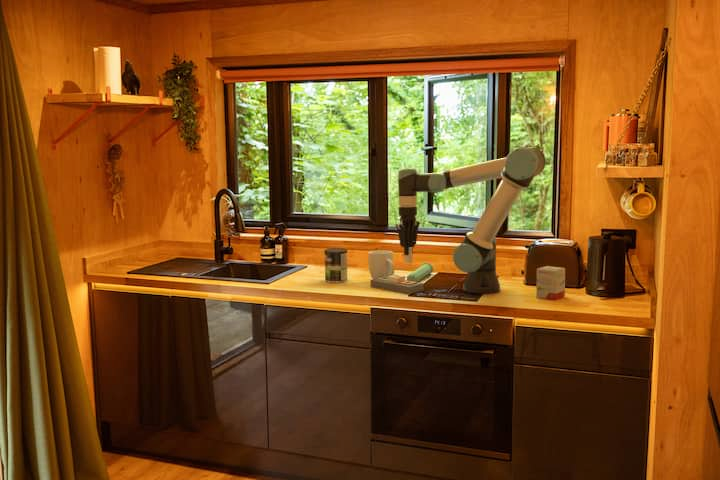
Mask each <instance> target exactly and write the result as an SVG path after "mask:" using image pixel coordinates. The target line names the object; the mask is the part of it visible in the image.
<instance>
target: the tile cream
mask: <svg viewBox="0 0 720 480" xmlns="http://www.w3.org/2000/svg"><path fill="white" fill-rule="evenodd" d="M405 280H406V276H405V275H402V274H394V275H392V276H388V282H391V283H397V284H398V283H400V282H404V281H405Z"/></svg>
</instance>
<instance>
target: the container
mask: <svg viewBox="0 0 720 480" xmlns="http://www.w3.org/2000/svg"><path fill="white" fill-rule="evenodd" d="M433 272H434V266H433V265H432V264H431V263H430V262H424V263H423V264H422V265H420V266H419V267H418V268H417V269H415V270H414V271H412V272H411V273H409V274H408V275H407V276H406V280H407V281H413V282H418V283H419V282H420V281H421V280H422V279H424V278H425V277H427V276H428V275H431V274H432V273H433Z"/></svg>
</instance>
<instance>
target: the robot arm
mask: <svg viewBox="0 0 720 480" xmlns="http://www.w3.org/2000/svg"><path fill="white" fill-rule="evenodd" d="M546 159H547V158H546V156H545V154H544V152H543V151H542V150H541V149H539V148H538V147H534V146H520V147H517V148H514V149H513V150H512V151H510V152H509V153H508V155H507V156H505V157H503V158H498V159H492V160H487V161H483V162H480V163H474V164H469V165H465V166H461V167H455V168H452V169H447V170H442V171H436V172H432V173H431V172H430V173H425V172H424V173H419V172H418V171H417V169H416V168H410V167H409V168H407V167H406V168H400V169H399V170H398V173H397V174H398V176H397V185H398V186H397V188H398V216H399V217H400V219H399V223H396V224H395V228H396V230H397V235H398V239H399V245H400V247H402V248H403V255H404V263H406V264H412V263H413V248H415V246H416V245H417V240H418V233H419V227H420V224H421V222H420V221H418V220H417V218H416V216H417V215H418V207H417V205H418V196H417V194H418V193H434V194H435V193H443V192H444V191H445V190H448V189H451V188H457V187H462V186H466V185H472V184H477V183H481V182H482V183H483V182H487V181H491V180H497V179H500V183H499V184H498V186H497V188H495V191H494V193H493V194H492V196H491V198H490V199H489V202H488V203H487V205H486V207H485V209H484V210H483V212H482V214H481V216H480V217H479V219H478V221H477V223H476V225H475V226H474V228H473V230H471V231H469V232H466V234H465V236H464V238H463V240H462V241H461V243H460V244H458V246H456V248H455V249H454V250H453V253H452V260H453V263H454V265H455V267H456V268H457V269H458V270H459V271H462V272H464V273H466V276H465V278H464V282H463V286H462V287H463V288H462V290H463V291H464V292H467V293H471V294H495V293H499V292H500V291H501V285H500V281H499V277H498V275H497V245H498V244H497V238H496V236H497V234H498V232H499V230H500V229H501V227H502V225H503V223H504V222H505V220H506V218H507V217H508V215H509V213H510V211H511V210H512V208H513V206H514V204H515V203H516V201H517V200H518V198H519V196H520V194H521V193H522V191H523V190H526V189H528V188H529V186H530V185H531V184H532V182H533V180H534V179H535V177H536V176H538V175H540V174H541V173H543V171H544V169H545V167H546V161H547V160H546Z"/></svg>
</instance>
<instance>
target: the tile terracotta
mask: <svg viewBox="0 0 720 480" xmlns="http://www.w3.org/2000/svg"><path fill="white" fill-rule="evenodd" d="M400 284H403V285H408V286H410V285H414V284H417V282H413V281H404V282H400Z"/></svg>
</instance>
